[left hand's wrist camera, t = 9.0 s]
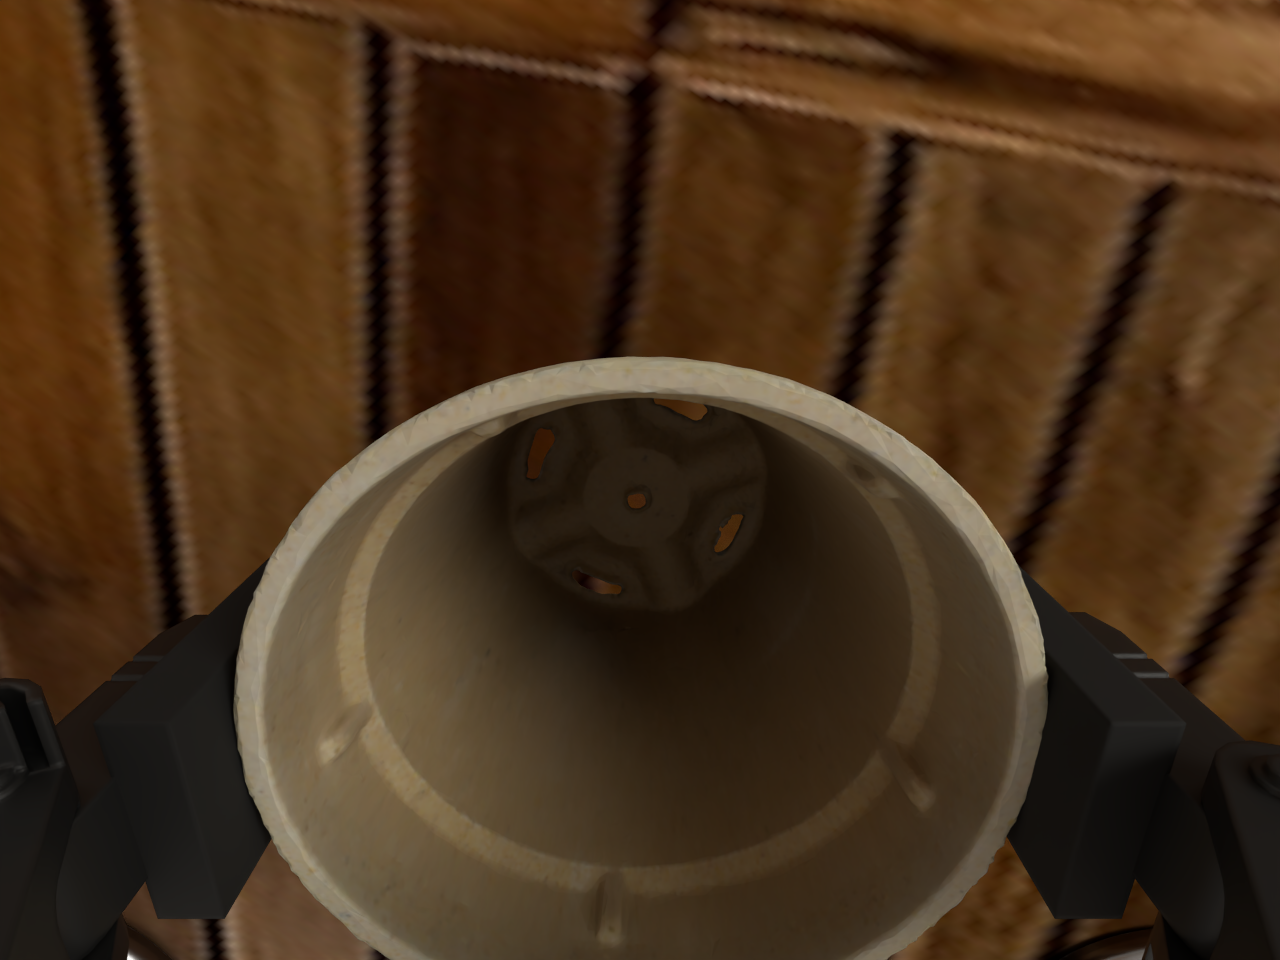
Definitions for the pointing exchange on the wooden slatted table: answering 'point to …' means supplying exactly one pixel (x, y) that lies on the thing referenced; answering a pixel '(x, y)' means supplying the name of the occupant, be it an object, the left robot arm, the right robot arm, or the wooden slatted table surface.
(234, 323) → the wooden slatted table surface
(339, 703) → the plastic plant pot
